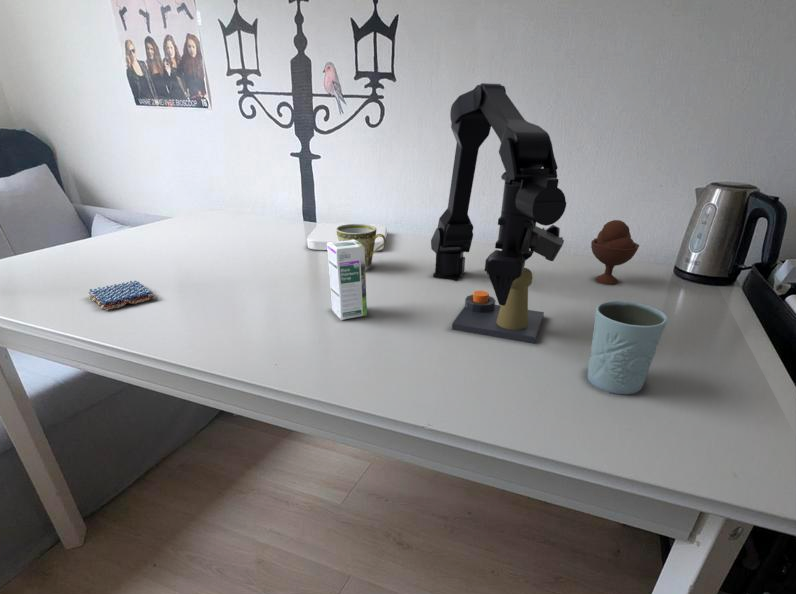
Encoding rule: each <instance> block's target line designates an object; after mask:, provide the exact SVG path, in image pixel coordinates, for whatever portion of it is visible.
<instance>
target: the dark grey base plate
mask: <svg viewBox="0 0 796 594" xmlns="http://www.w3.org/2000/svg"><path fill="white" fill-rule="evenodd" d="M496 302H497V301H496V299H495V298H494V297H492V296H490V295H489V298H488V302H487V303H477V302H474V301H473V294H469V295H467V296H466V298H465V300H464V307H463V308H462V309H461V311H460V312H459V314H458V315H457V316H456V318H455V319H454V321H453V322H452V323H451V330H452V331H457V332H463V333H469V334H474V335H475V334H476V335H481V336H487V337H491V338H499V339H503V340H504V339H505V340H509V341H510V340H511V341H517V342H522V343H528V344H533V345H534V344H535V343H536V340H537V337H538V334H539V332H540V328H541V325H542V322H543V319H544V316H545V315H544V314H545V312H544V311H539V310H532V309H528V325H527V327H526V328H524V329H520V330H510V329H505V328H502V327H500V326H499V325H498V324H497V318H498V314H499V310H500V307H501V305H499V304H496Z"/></svg>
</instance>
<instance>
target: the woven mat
mask: <svg viewBox="0 0 796 594" xmlns="http://www.w3.org/2000/svg"><path fill="white" fill-rule="evenodd" d="M88 294H89V295H88V298H89V300H90V299H91V301H92V302H96V303H97V305H98V307H99V309H100V310H102V309H103V310H105V311H110V310H115V309H118V308H123V307H124V306H126V305H136V304H140V303H143V302H147V301H149V300H150V299H154V298H155V297H156V295H155V294H153V291H152V289H149V287H147V286H145V285H144V284H143V283H141V282H140V281H139V280H138V281H137V280H133V281H132V280H129V281H127V282H126V283H125V282H121V283H119V284H116V283H114V284H112V285H110V286H109V285H106V286H103V287H102V288H101V287H99V286H98V287H97V288H93V289H92V288H89V292H88Z"/></svg>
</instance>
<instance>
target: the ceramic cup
mask: <svg viewBox="0 0 796 594" xmlns="http://www.w3.org/2000/svg"><path fill="white" fill-rule="evenodd" d="M346 224H347V225H342V226H339V227H337V228H336V231H337V236H338V241H348V240H353V239H354V240H356V241H358V242H360V243H361V244H362V245H363V246H364V249H365V272H366V271H368V270H370V269H371V268H372V263H373V256H374V254H375V253H377V252H378V251H377V250H378V249H379V248H381V247H382V246H383V245H384V246H385V244H386V241H387V238H386V239H385V237H384V235H382V234H377V235H376V228H375V227H374V226H371V225H366V224H367V223H346ZM379 236H380V237H382V238H383V239H384V243H383V244H382V245H381V246H379V247H378V248H377V249H376V250H375V251H373V250H374V244H375V239H376V238H377V237H379Z"/></svg>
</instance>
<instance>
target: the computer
mask: <svg viewBox="0 0 796 594" xmlns="http://www.w3.org/2000/svg"><path fill="white" fill-rule="evenodd" d="M347 224H348V223H340V222H324V223H319V224H317V225H316V226H315V227H314V228H313V230H312V231H311V233H310V234H309V235H308V236H307V237H306V242H307V248H308V249H311V250H315V251H327V243H328V242H339V241H338V236H337V231H336V228H337V227H339V226H342V225H347ZM365 224H366V225H371V226H374V227H375V228H376V235H377V234H382V235H384V237H385V239H386V240H387V235H388V226H387V225H384V224H379V223H377V224H375V223H365ZM383 243H384V239H383V238H382V237H380V236H379V237H377V238H376V239H375V244H374V250H373V251H375V250H376V249H377V248H378V247H379V246H381V245H382V244H383ZM384 248H385V244H384V245H383V246H382V247H381V248H379V249H378V250H377V251H376V252H379V251H382V250H384Z"/></svg>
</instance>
